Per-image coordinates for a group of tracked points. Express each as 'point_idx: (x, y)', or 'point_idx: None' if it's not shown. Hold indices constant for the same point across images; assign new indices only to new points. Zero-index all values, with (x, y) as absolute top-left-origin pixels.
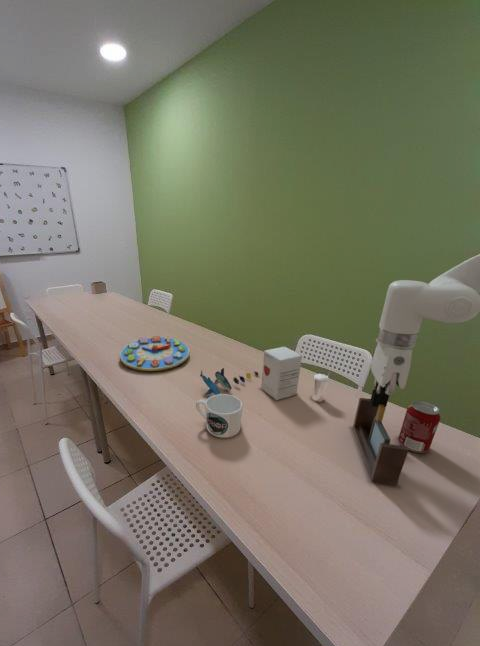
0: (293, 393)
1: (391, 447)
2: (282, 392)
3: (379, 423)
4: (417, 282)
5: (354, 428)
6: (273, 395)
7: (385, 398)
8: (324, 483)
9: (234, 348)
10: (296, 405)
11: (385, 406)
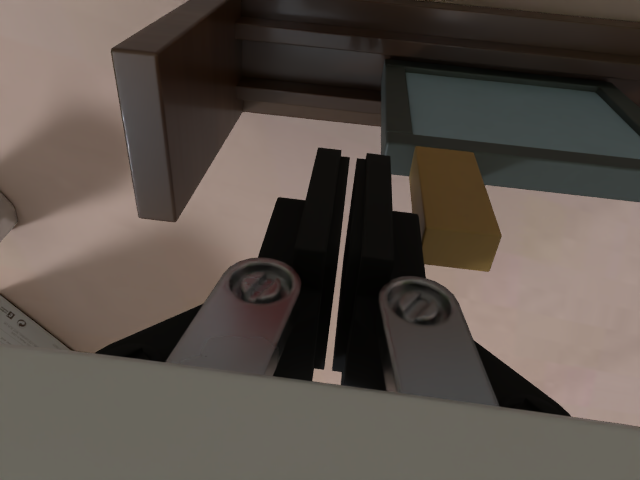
0: (10, 317)
1: None
2: None
3: (495, 178)
4: None
5: (254, 112)
6: None
7: (424, 272)
8: (627, 319)
9: None
10: (102, 308)
11: (388, 163)
